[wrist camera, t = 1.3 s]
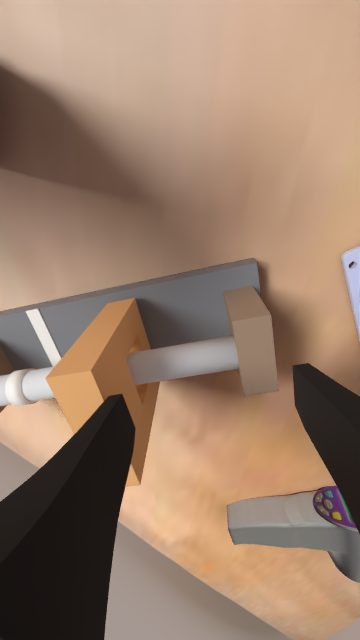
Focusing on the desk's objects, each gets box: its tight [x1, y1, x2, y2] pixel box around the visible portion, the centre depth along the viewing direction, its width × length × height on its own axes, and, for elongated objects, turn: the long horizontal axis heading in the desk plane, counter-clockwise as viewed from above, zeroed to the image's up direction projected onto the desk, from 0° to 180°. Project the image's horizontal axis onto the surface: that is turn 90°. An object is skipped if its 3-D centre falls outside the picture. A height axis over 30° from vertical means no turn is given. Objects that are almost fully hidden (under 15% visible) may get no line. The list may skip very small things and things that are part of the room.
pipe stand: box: [0, 258, 279, 412], centre depth 19 cm, size 23×8×7 cm, turn 103°
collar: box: [45, 298, 160, 487], centre depth 16 cm, size 2×7×9 cm, turn 13°
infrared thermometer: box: [227, 486, 360, 583], centre depth 30 cm, size 5×12×15 cm
